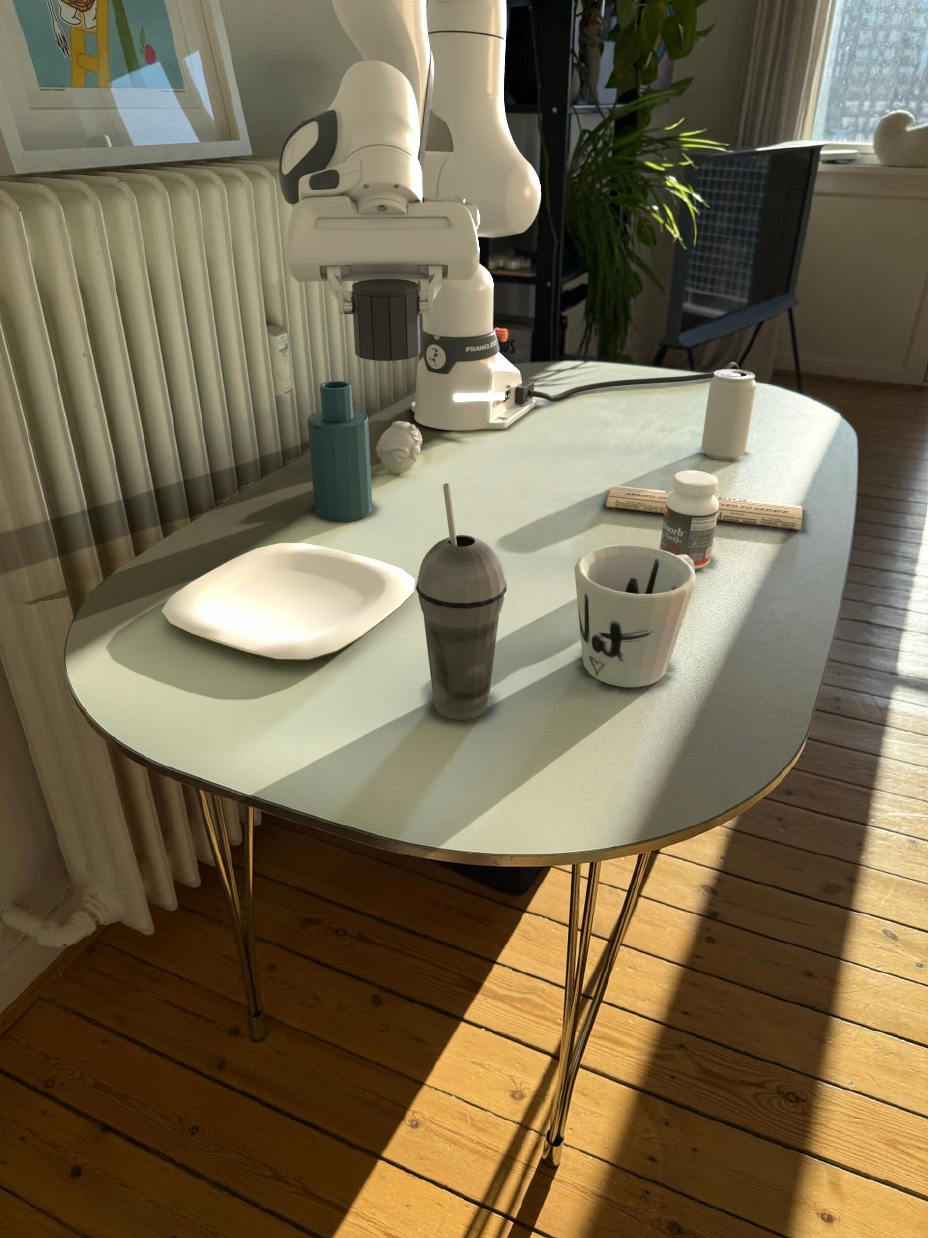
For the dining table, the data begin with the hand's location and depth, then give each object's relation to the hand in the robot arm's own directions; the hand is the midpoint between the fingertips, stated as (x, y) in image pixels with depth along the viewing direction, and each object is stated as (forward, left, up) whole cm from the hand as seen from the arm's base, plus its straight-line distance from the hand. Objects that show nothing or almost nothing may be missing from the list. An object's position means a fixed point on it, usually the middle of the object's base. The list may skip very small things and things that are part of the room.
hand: (385, 310), depth 93 cm
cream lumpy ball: (-18, -14, -26) cm, 35 cm away
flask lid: (-1, 0, -4) cm, 4 cm away
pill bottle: (-15, +30, -26) cm, 43 cm away
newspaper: (-30, +26, -26) cm, 48 cm away
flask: (-3, -11, -26) cm, 29 cm away
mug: (+7, +35, -26) cm, 44 cm away
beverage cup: (+23, +26, -26) cm, 44 cm away
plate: (+19, +2, -26) cm, 32 cm away
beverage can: (-52, +20, -26) cm, 62 cm away
